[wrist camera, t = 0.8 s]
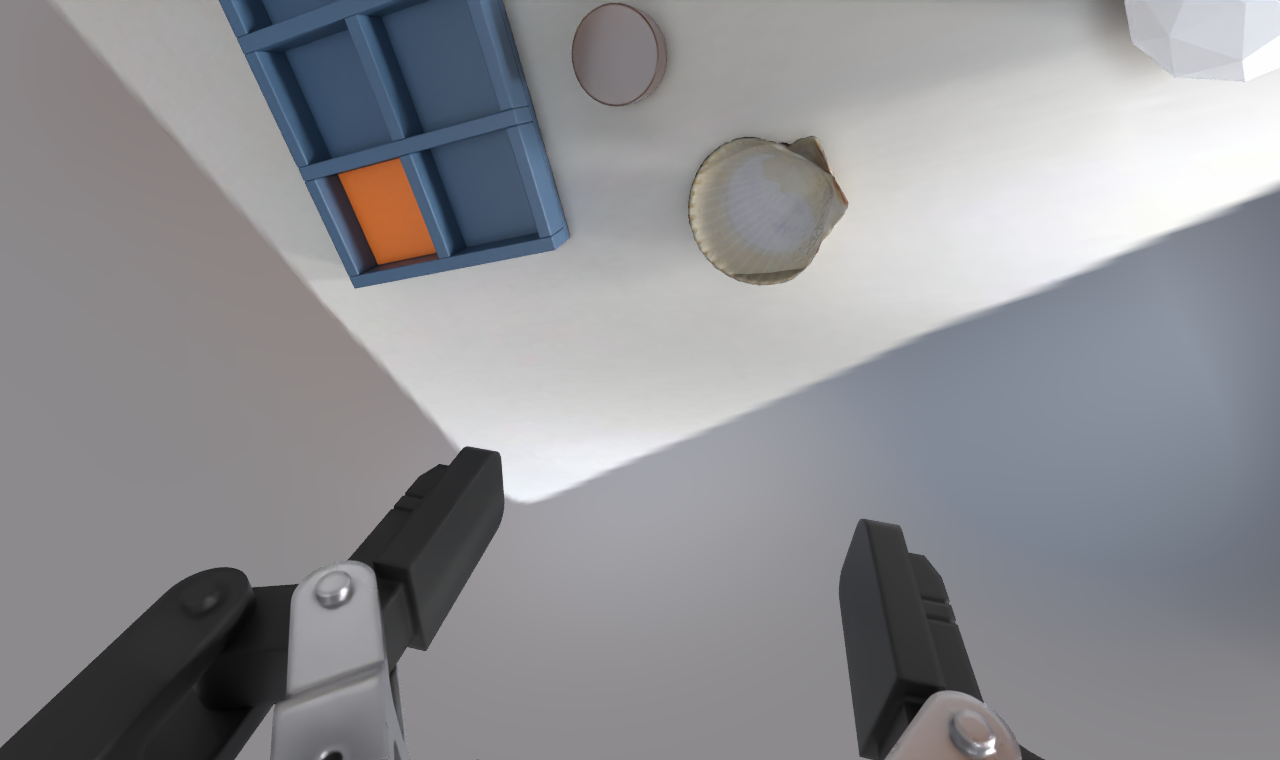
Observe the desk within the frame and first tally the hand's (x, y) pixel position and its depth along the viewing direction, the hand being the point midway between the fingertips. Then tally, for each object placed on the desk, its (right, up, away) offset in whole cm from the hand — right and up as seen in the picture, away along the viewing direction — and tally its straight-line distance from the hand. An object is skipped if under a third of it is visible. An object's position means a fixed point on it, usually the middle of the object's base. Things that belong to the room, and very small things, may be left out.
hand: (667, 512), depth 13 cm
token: (-1, +20, +17) cm, 26 cm away
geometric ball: (+23, +20, +12) cm, 33 cm away
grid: (-14, +20, +20) cm, 32 cm away
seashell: (+6, +13, +19) cm, 24 cm away
